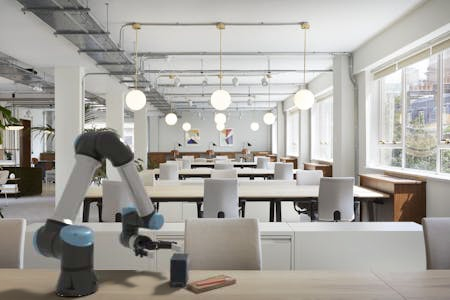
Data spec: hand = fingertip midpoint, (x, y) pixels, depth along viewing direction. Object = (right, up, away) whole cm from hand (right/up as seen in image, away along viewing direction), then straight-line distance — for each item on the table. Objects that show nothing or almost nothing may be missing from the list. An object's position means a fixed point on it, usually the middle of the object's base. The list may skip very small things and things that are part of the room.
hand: (167, 252), depth 179 cm
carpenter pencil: (+19, -8, -13) cm, 25 cm away
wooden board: (+18, -10, -11) cm, 24 cm away
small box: (+6, -10, -8) cm, 14 cm away
